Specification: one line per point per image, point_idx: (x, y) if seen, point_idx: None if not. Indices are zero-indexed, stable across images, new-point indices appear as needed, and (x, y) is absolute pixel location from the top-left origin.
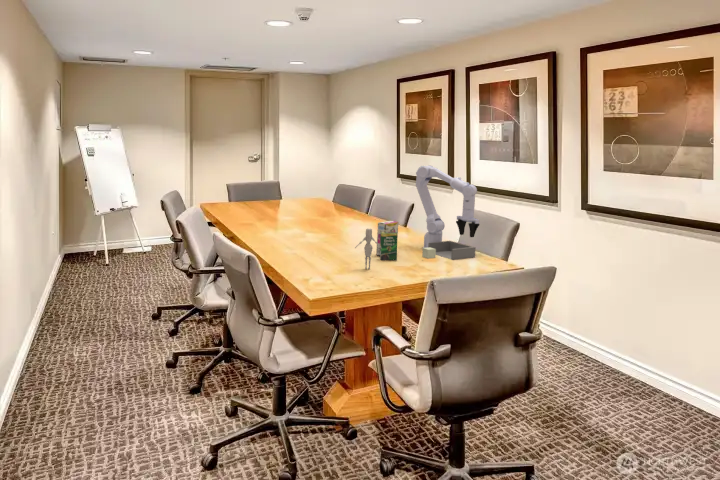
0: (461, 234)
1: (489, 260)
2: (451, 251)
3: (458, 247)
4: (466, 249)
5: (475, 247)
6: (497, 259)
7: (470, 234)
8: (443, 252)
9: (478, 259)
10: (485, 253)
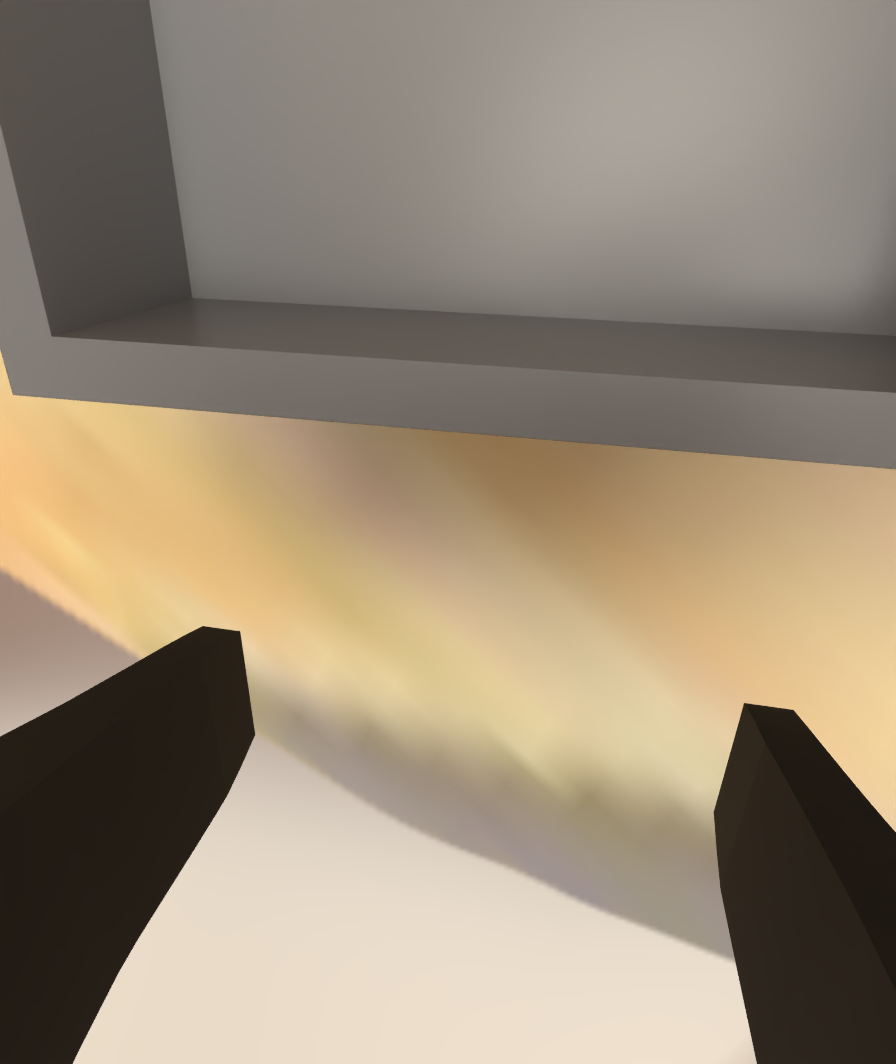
0: (737, 747)
1: (11, 452)
2: (821, 328)
3: (579, 345)
4: None
5: (12, 390)
6: (55, 599)
7: (140, 668)
8: (886, 8)
9: None
10: (429, 765)
